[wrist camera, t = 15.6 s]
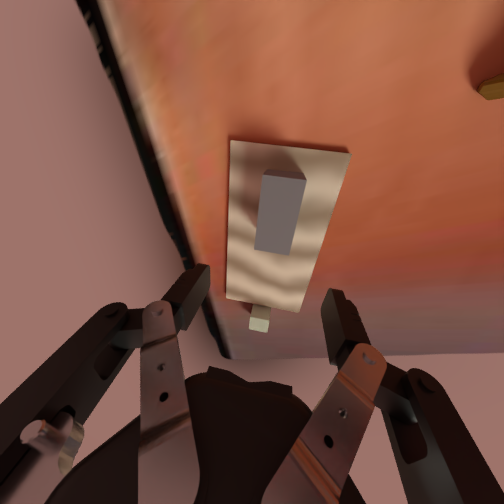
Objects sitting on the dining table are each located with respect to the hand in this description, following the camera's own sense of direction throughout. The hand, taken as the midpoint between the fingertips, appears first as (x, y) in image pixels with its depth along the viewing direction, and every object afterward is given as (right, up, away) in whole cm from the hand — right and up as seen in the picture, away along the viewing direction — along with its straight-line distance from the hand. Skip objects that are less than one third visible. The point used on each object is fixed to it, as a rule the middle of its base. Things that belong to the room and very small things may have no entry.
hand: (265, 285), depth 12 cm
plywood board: (+3, +4, +20) cm, 21 cm away
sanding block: (+3, +9, +16) cm, 19 cm away
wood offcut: (+1, -11, +30) cm, 32 cm away
